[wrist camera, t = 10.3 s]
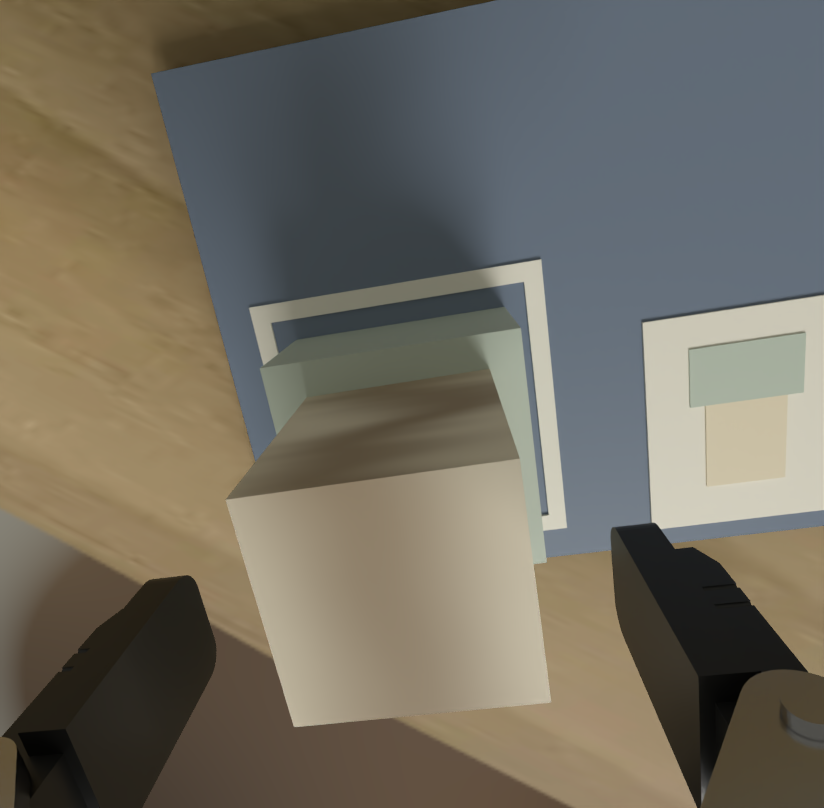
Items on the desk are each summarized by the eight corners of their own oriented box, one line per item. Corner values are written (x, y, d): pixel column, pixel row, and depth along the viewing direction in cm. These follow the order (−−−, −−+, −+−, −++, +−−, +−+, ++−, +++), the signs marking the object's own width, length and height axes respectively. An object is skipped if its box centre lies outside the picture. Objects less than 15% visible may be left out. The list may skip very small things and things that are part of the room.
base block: (504, 306, 18) (520, 328, 14) (526, 499, 20) (546, 562, 16) (296, 339, 19) (259, 368, 15) (338, 522, 21) (315, 588, 17)
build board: (911, -73, 16) (954, -100, 14) (866, 501, 21) (894, 520, 20) (170, 83, 18) (148, 72, 17) (296, 569, 23) (288, 589, 22)
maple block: (489, 368, 15) (519, 458, 9) (512, 534, 16) (551, 702, 10) (306, 397, 15) (225, 499, 10) (344, 556, 17) (294, 726, 11)
